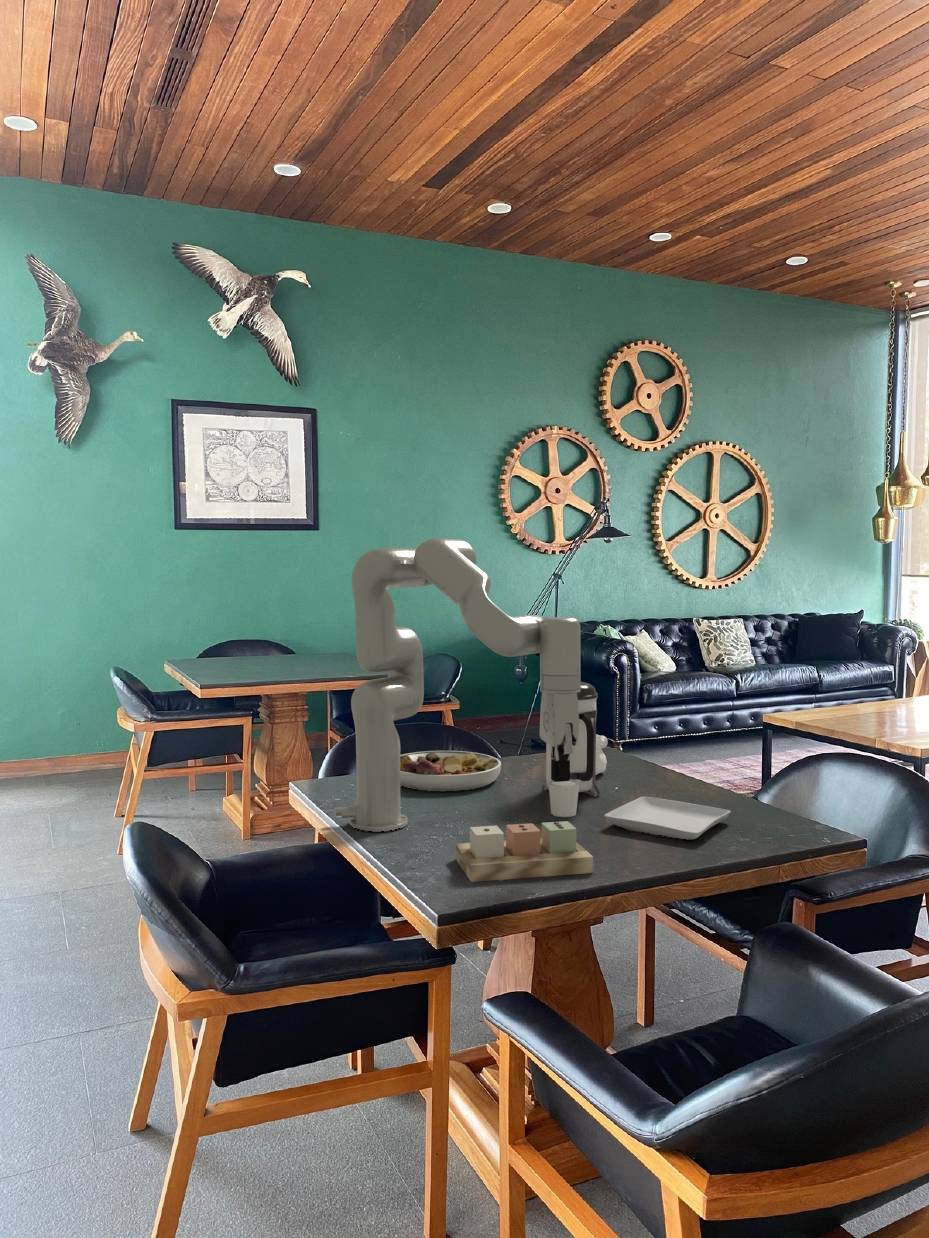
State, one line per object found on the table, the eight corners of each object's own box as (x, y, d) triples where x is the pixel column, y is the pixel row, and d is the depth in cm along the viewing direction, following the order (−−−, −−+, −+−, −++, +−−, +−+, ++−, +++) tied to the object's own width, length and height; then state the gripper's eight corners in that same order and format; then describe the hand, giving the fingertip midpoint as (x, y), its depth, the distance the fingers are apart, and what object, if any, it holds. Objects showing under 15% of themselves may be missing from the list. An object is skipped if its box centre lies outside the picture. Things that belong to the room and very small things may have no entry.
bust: (603, 785, 246) (627, 750, 247) (582, 769, 244) (607, 734, 246) (585, 775, 258) (608, 742, 259) (565, 760, 256) (588, 727, 257)
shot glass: (577, 818, 207) (577, 787, 207) (546, 816, 208) (546, 785, 208) (580, 810, 214) (580, 780, 213) (550, 808, 215) (550, 778, 215)
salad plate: (732, 823, 204) (732, 808, 204) (697, 848, 187) (698, 831, 187) (642, 808, 216) (642, 794, 216) (601, 830, 199) (601, 815, 199)
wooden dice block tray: (470, 881, 166) (470, 865, 166) (455, 859, 179) (455, 843, 179) (593, 872, 171) (593, 856, 171) (570, 851, 184) (570, 836, 183)
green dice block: (549, 856, 173) (549, 829, 173) (541, 848, 178) (541, 821, 178) (576, 855, 174) (576, 827, 174) (567, 846, 179) (567, 820, 179)
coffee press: (526, 796, 227) (527, 673, 225) (557, 783, 240) (558, 667, 238) (591, 806, 217) (592, 678, 215) (620, 792, 230) (621, 671, 228)
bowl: (410, 765, 262) (410, 737, 261) (513, 772, 253) (514, 744, 252) (366, 790, 234) (366, 759, 233) (481, 799, 224) (481, 767, 224)
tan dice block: (513, 859, 172) (513, 831, 171) (505, 850, 177) (506, 823, 176) (540, 857, 173) (540, 829, 172) (532, 849, 178) (532, 822, 178)
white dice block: (476, 862, 170) (476, 834, 170) (469, 853, 175) (469, 826, 175) (503, 860, 171) (503, 832, 171) (496, 851, 176) (496, 824, 176)
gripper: (529, 679, 181) (529, 773, 182) (553, 689, 166) (553, 791, 167) (566, 678, 182) (566, 771, 183) (593, 687, 168) (593, 788, 169)
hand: (560, 780), depth 175 cm, fingers closed
